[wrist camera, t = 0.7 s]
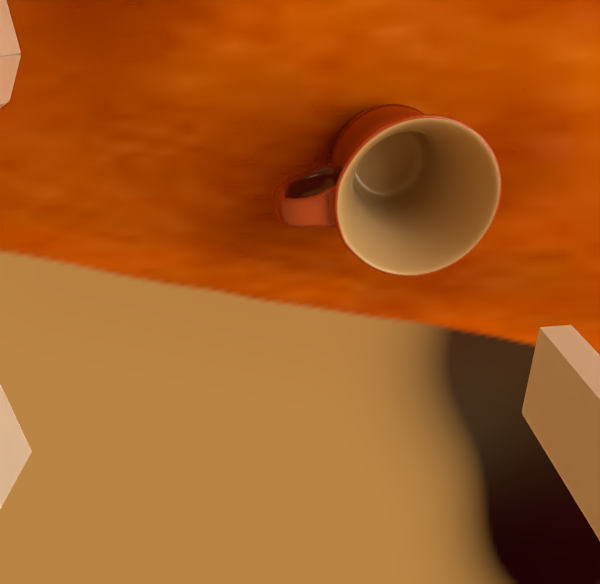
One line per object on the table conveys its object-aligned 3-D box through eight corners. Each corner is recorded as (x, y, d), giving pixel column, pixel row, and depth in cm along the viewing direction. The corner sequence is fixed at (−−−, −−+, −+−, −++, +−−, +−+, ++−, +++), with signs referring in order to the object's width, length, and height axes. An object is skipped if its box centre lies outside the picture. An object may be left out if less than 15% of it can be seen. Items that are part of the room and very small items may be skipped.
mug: (443, 79, 33) (507, 102, 24) (443, 205, 37) (497, 265, 28) (263, 106, 33) (259, 139, 24) (283, 228, 37) (286, 295, 28)
